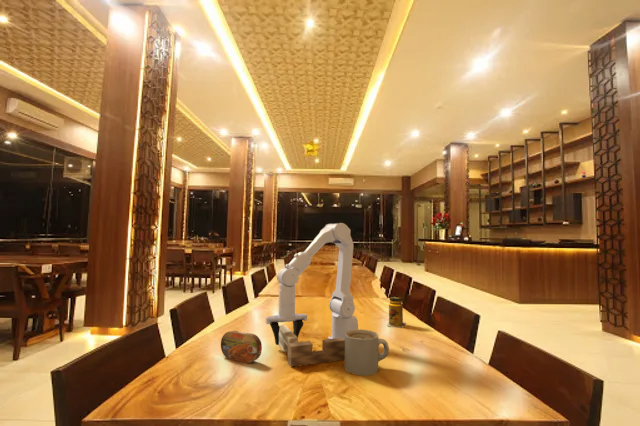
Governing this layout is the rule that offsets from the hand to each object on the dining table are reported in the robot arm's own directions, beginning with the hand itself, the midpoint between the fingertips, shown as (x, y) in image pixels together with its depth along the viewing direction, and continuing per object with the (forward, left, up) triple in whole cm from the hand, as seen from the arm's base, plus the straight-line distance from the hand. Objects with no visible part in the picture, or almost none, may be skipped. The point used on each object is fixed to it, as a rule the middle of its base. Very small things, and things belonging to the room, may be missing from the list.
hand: (286, 343), depth 112 cm
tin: (+16, +4, -2) cm, 17 cm away
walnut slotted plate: (-6, +14, -2) cm, 16 cm away
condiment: (-55, -14, -2) cm, 57 cm away
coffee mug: (-18, +24, -2) cm, 30 cm away
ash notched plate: (0, 0, -2) cm, 2 cm away
